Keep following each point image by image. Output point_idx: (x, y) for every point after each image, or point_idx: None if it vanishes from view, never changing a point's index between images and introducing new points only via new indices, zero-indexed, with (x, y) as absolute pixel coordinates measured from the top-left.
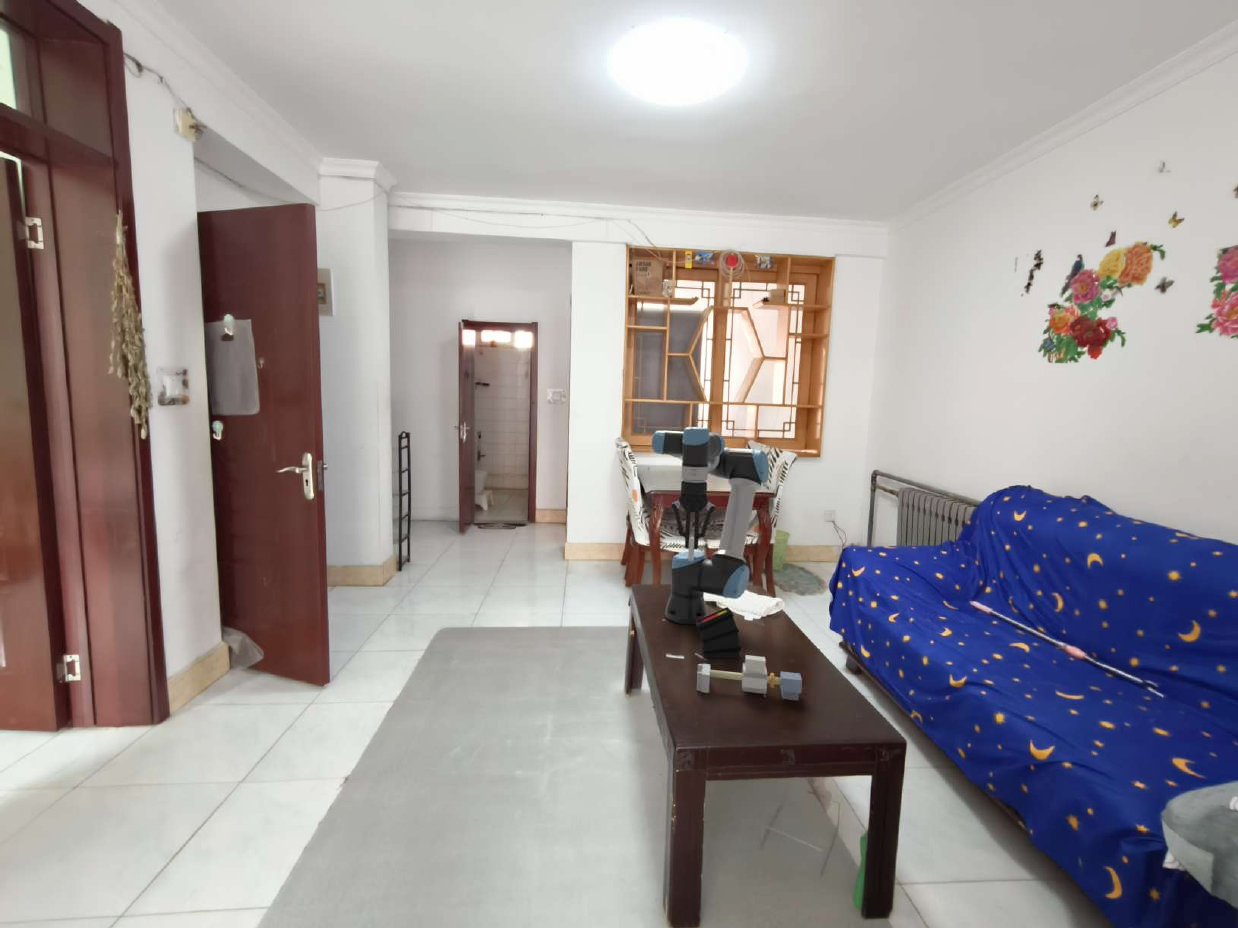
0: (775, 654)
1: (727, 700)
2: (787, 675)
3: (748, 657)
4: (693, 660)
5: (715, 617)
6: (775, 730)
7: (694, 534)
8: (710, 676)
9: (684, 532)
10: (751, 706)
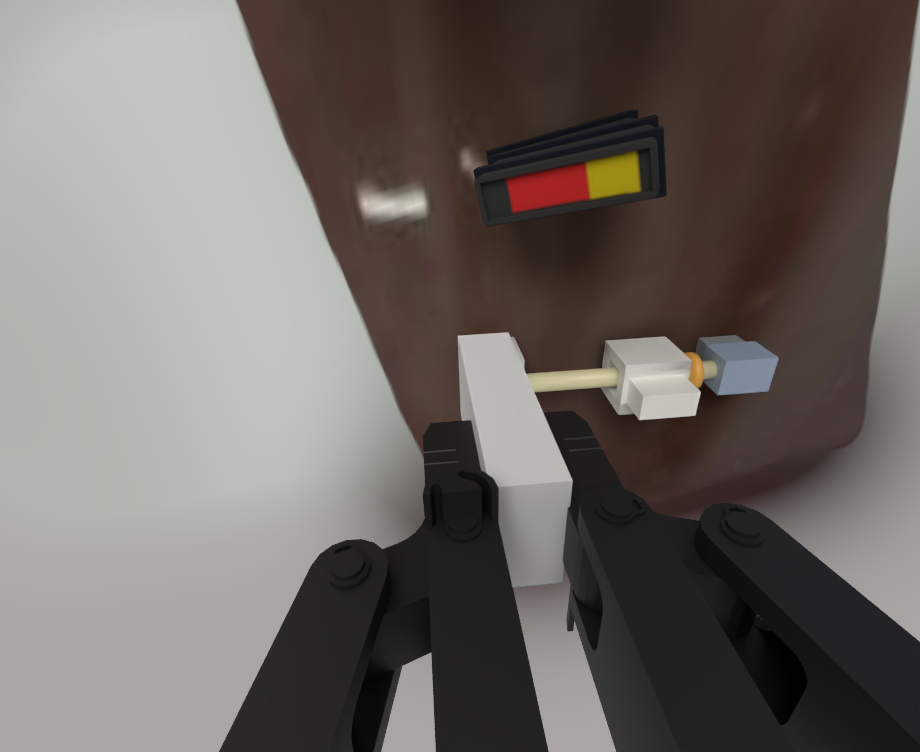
0: (766, 73)
1: (556, 407)
2: (737, 378)
3: (649, 408)
4: (460, 217)
5: (574, 210)
6: (641, 476)
7: (585, 644)
8: None
9: (416, 650)
10: (609, 414)
